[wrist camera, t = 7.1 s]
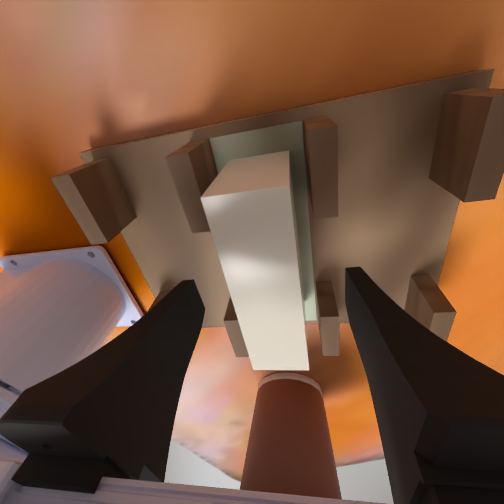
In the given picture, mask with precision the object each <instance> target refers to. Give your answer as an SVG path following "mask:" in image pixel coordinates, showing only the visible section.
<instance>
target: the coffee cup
mask: <svg viewBox="0 0 504 504" xmlns="http://www.w3.org/2000/svg"><path fill="white" fill-rule="evenodd" d="M240 490H247V491H258V492H268V493H279V494H289V495H300V496H310V497H321V498H331V499H342V498H341V492H340V487H339V482H338V477H337V471H336V466H335V460H334V455H333V450H332V444H331V439H330V434H329V428H328V423H327V418H326V412H325V407H324V402H323V396H322V390H321V388H320V386H319V384H318V383H317V382H315V381H314V380H313V379H312V378H310V377H307V376H304V375H301V374H298V373H289V372H282V373H273V374H271V375H269V376H266V377H264V378H263V379H262V380H261V381H260V382H259V385H258V392H257V398H256V403H255V409H254V414H253V420H252V425H251V431H250V436H249V442H248V447H247V453H246V458H245V464H244V469H243V475H242V480H241V486H240Z"/></svg>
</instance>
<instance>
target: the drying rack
mask: <svg viewBox="0 0 504 504" xmlns="http://www.w3.org/2000/svg"><path fill="white" fill-rule="evenodd" d="M493 70H494V69H491V70H477V71H472V72H467V73H462V74H457V75H452V76H447V77H442V78H438V79H433V80H428V81H423V82H418V83H413V84H408V85H403V86H398V87H393V88H388V89H383V90H379V91H374V92H369V93H364V94H359V95H354V96H349V97H344V98H339V99H334V100H329V101H325V102H320V103H315V104H310V105H305V106H300V107H295V108H290V109H285V110H280V111H275V112H270V113H266V114H261V115H256V116H251V117H246V118H241V119H236V120H231V121H226V122H221V123H216V124H211V125H207V126H202V127H197V128H192V129H187V130H182V131H177V132H172V133H167V134H162V135H157V136H153V137H148V138H143V139H138V140H133V141H128V142H123V143H118V144H113V145H108V146H103V147H98V148H94V149H90V150H87V151H84V152H81V153H79V154H80V156H81V158H82V160H83V162H84V165H82V166H79V167H77V168H74V169H72V170H69V171H67V172H64V173H62V174H59V175H57V176H54V177H52V178H50V179H51V180H52V182H53V184H54V185H55V187H56V188H57V190H58V192H59V193H60V195H61V197H62V198H63V200H64V201H65V203H66V205H67V206H68V208H69V210H70V211H71V213H72V214H73V216H74V218H75V219H76V221H77V223H78V224H79V226H80V227H81V229H82V231H83V232H84V234H85V236H86V237H87V239H88V240H89V242H90V244H91V245H94V244H103V243H108V242H110V241H111V240H112V239H113V238H114V237H115V236H116V235H117V234H119V233H120V232H121V234H122V236H123V238H124V240H125V242H126V244H127V245H128V247H129V249H130V251H131V253H132V255H133V257H134V259H135V261H136V263H137V264H138V266H139V268H140V270H141V272H142V274H143V276H144V278H145V280H146V281H147V283H148V285H149V287H150V289H151V291H152V293H153V295H154V297H155V300H154V302H153V304H152V305H151V307H150V309H149V310H151V309H152V308H153V307H154V306H155V305H156V304H157V303H158V302H159V301H160V300H161V299H162V298H164V297H165V296H166V295H167V294H168V293H169V292H170V291H171V290H172V289H173V288H174V287H175V286H176V285H178V284H179V283H180V282H181V281H182V280H192V279H194V281H195V284H196V286H197V289H198V291H199V294H200V296H201V299H202V301H203V304H204V306H205V314H204V319H203V324H202V328H207V327H226V330H227V332H228V335H229V338H230V341H231V344H232V346H233V349H234V352H235V355H236V357H249V354H248V351H247V348H246V344H245V341H244V338H243V335H242V331H241V328H240V325H239V322H238V318H237V315H236V312H235V309H234V305H233V302H232V299H231V296H230V292H229V289H228V286H227V283H226V279H225V276H224V273H223V270H222V266H221V263H220V260H219V257H218V253H217V250H216V247H215V244H214V240H213V237H212V234H211V230H210V227H209V224H208V221H207V217H206V214H205V211H204V208H203V204H202V201H201V196H202V195H203V194H204V192H205V191H206V190H207V188H208V187H209V186H210V185H211V183H212V182H213V181H214V179H215V178H216V177H217V175H218V174H219V173H220V171H221V170H222V169H223V168H224V166H225V165H226V164H227V162H228V161H229V160H234V159H240V158H246V157H252V156H258V155H264V154H270V153H276V152H282V151H288V150H289V154H290V164H291V174H292V183H293V193H294V203H295V213H296V223H297V233H298V243H299V253H300V263H301V273H302V283H303V292H304V303H305V317H306V324H319V330H320V338H321V346H322V354H323V356H339V323H349V319H348V314H347V309H346V304H345V268H347V267H361V268H362V269H363V270H364V271H365V272H366V273H367V274H368V275H369V277H370V278H371V279H372V280H373V281H374V282H375V283H376V284H377V285H378V286H379V287H380V288H381V289H382V290H383V291H384V292H385V293H386V294H387V295H388V296H389V297H390V298H391V299H392V300H393V301H394V302H396V303H397V304H398V305H399V306H400V307H401V308H402V309H403V310H405V311H406V312H407V313H408V314H409V315H411V316H412V317H413V318H414V319H415V320H417V321H418V322H419V323H421V324H422V325H423V326H425V327H426V328H427V329H429V330H430V331H431V332H433V333H434V334H436V335H437V336H438V337H440V338H441V339H443V340H445V341H446V342H447V339H448V336H449V333H450V330H451V327H452V324H453V321H454V318H455V315H456V311H455V309H454V308H453V307H452V305H451V304H450V302H449V301H448V300H447V298H446V297H445V296H444V294H443V293H442V291H441V290H440V289H439V287H438V286H437V285H438V281H439V277H440V273H441V269H442V266H443V262H444V258H445V254H446V250H447V247H448V243H449V239H450V235H451V231H452V227H453V224H454V220H455V216H456V212H457V208H458V204H459V201H460V200H461V201H463V202H473V201H481V200H490V199H495V197H496V194H497V191H498V188H499V185H500V182H501V179H502V176H503V173H504V89H489V86H490V82H491V78H492V74H493ZM149 310H148V311H149Z"/></svg>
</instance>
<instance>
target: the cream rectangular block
mask: <svg viewBox="0 0 504 504" xmlns="http://www.w3.org/2000/svg"><path fill="white" fill-rule="evenodd" d="M201 201H202V204H203V208H204V211H205V214H206V217H207V221H208V224H209V227H210V230H211V234H212V237H213V240H214V244H215V247H216V250H217V253H218V257H219V260H220V263H221V266H222V270H223V273H224V276H225V279H226V283H227V286H228V289H229V292H230V296H231V299H232V302H233V305H234V309H235V312H236V315H237V318H238V322H239V325H240V328H241V331H242V335H243V338H244V341H245V344H246V348H247V351H248V354H249V358H250V361H251V364H252V367H253V370H309V359H308V345H307V331H306V317H305V303H304V292H303V283H302V273H301V263H300V253H299V243H298V233H297V223H296V213H295V203H294V193H293V183H292V174H291V164H290V154H289V150H288V151H282V152H276V153H270V154H264V155H258V156H252V157H246V158H240V159H234V160H229V161H228V162H227V164H226V165H225V166H224V168H223V169H222V170H221V171H220V173H219V174H218V175H217V177H216V178H215V179H214V181H213V182H212V183H211V185H210V186H209V187H208V188H207V190H206V191H205V192H204V194H203V195H202V196H201Z"/></svg>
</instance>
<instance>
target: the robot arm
mask: <svg viewBox="0 0 504 504" xmlns="http://www.w3.org/2000/svg"><path fill="white" fill-rule="evenodd" d="M93 253H94V254H93ZM0 266H1V267H2V268H3V269H4V271H3V272H1V273H0V504H384V503H373V502H363V501H352V500H342V499H331V498H321V497H310V496H300V495H289V494H279V493H268V492H258V491H247V490H237V489H225V488H215V487H204V486H194V485H184V484H173V483H164V479H165V472H166V465H167V459H168V453H169V446H170V441H171V436H172V430H173V425H174V420H175V415H176V411H177V406H178V402H179V397H180V393H181V389H182V385H183V381H184V377H185V374H186V371H187V368H188V365H189V362H190V359H191V357H192V354H193V351H194V348H195V345H196V343H197V340H198V337H199V334H200V331H201V328H202V324H203V319H204V314H205V306H204V304H203V301H202V299H201V296H200V294H199V291H198V289H197V286H196V284H195V281H194V279H192V280H182V281H181V282H180V283H179V284H178V285H176V286H175V287H174V288H173V289H172V290H171V291H170V292H169V293H168V294H167V295H166V296H165V297H164V298H162V299H161V300H160V301H159V302H158V303H157V304H156V305H155V306H154V307H153V308H152V309H151V310H149V311H148V312H147V313H146V314H145V315H144V314H143V312H142V311H141V309H140V307H139V306H138V304H137V302H136V301H135V299H134V297H133V295H132V294H131V292H130V290H129V289H128V287H127V285H126V284H125V282H124V280H123V278H122V277H121V275H120V273H119V272H118V270H117V268H116V267H115V265H114V263H113V261H112V260H111V258H110V256H109V255H108V253H107V251H106V250H105V249H104V248H103V247H101V246H89V247H80V248H71V249H62V250H53V251H44V252H36V253H27V254H18V255H9V256H2V257H0ZM345 304H346V309H347V314H348V319H349V323H350V326H351V329H352V332H353V335H354V338H355V341H356V344H357V347H358V350H359V353H360V356H361V359H362V362H363V365H364V368H365V371H366V375H367V378H368V382H369V387H370V391H371V395H372V400H373V404H374V409H375V413H376V418H377V422H378V427H379V432H380V436H381V441H382V446H383V451H384V456H385V460H386V465H387V470H388V476H389V481H390V486H391V491H392V496H393V501H394V504H504V375H502V374H500V373H498V372H496V371H495V370H493V369H491V368H489V367H487V366H486V365H484V364H482V363H480V362H479V361H477V360H475V359H473V358H472V357H470V356H468V355H467V354H465V353H463V352H462V351H460V350H459V349H457V348H456V347H454V346H452V345H451V344H449V343H448V342H446V341H445V340H443V339H441V338H440V337H438V336H437V335H436V334H434V333H433V332H431V331H430V330H429V329H427V328H426V327H425V326H423V325H422V324H421V323H419V322H418V321H417V320H415V319H414V318H413V317H412V316H411V315H409V314H408V313H407V312H406V311H405V310H403V309H402V308H401V307H400V306H399V305H398V304H397V303H396V302H394V301H393V300H392V299H391V298H390V297H389V296H388V295H387V294H386V293H385V292H384V291H383V290H382V289H381V288H380V287H379V286H378V285H377V284H376V283H375V282H374V281H373V280H372V279H371V278H370V277H369V275H368V274H367V273H366V272H365V271H364V270H363V269H362V268H361V267H347V268H345ZM117 326H131V327H129V328H128V329H127V330H125V331H124V332H123V333H121V334H120V335H119V336H117V337H116V338H115V339H113V340H112V341H110V342H109V343H107V344H106V345H104V346H103V347H102V345H103V344H104V342H105V341H106V339H107V338H108V337H109V335H110V334H111V332H112V331H113V330H114V328H115V327H117Z"/></svg>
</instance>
